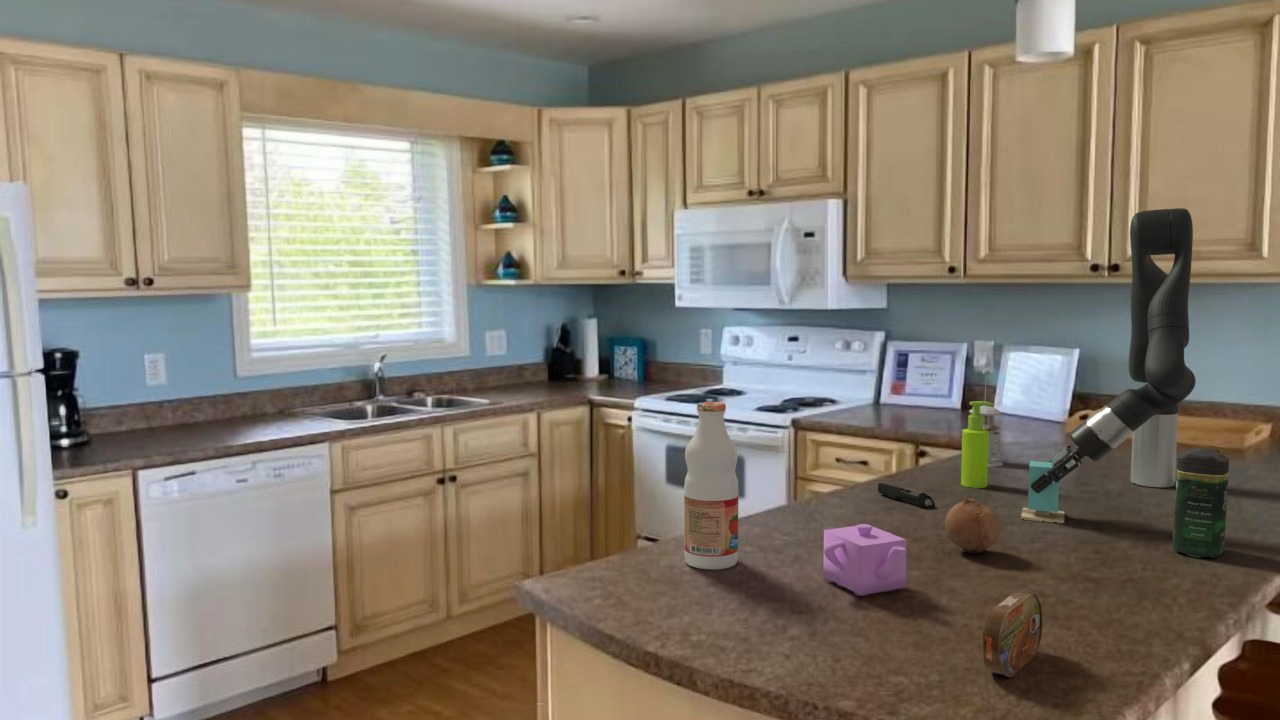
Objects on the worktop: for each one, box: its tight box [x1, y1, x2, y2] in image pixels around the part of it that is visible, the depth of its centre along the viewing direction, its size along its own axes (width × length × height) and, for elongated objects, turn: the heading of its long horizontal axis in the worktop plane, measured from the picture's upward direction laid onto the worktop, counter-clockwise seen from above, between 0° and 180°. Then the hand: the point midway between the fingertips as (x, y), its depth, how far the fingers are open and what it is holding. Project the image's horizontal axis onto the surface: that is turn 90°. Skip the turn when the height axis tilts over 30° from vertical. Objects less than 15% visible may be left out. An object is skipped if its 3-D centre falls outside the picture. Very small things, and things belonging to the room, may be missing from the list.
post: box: [1020, 507, 1065, 524], centre depth 190 cm, size 8×8×8 cm
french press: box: [968, 368, 1004, 468], centre depth 245 cm, size 10×12×25 cm
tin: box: [981, 592, 1043, 678], centre depth 119 cm, size 15×3×8 cm, turn 138°
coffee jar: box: [1172, 447, 1230, 558], centre depth 165 cm, size 10×8×19 cm
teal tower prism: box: [1027, 460, 1060, 512], centre depth 190 cm, size 6×6×9 cm
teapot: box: [822, 523, 908, 597], centre depth 147 cm, size 18×14×10 cm
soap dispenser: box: [960, 400, 995, 489], centre depth 219 cm, size 6×7×20 cm
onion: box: [944, 497, 1002, 554], centre depth 166 cm, size 10×9×10 cm
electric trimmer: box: [877, 482, 936, 510], centre depth 205 cm, size 4×16×3 cm, turn 27°
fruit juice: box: [683, 401, 739, 571], centre depth 160 cm, size 9×9×28 cm
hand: (1034, 486), depth 191 cm, fingers closed on teal tower prism, 5 cm apart
